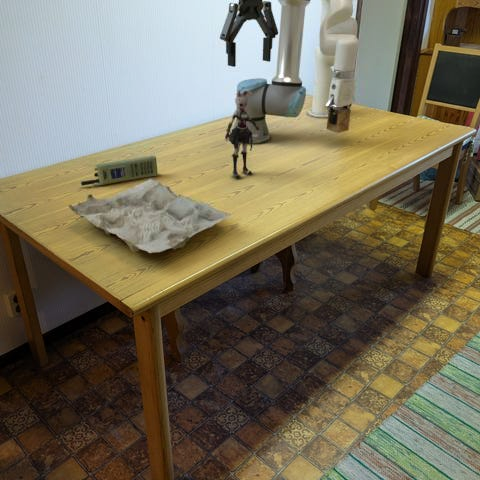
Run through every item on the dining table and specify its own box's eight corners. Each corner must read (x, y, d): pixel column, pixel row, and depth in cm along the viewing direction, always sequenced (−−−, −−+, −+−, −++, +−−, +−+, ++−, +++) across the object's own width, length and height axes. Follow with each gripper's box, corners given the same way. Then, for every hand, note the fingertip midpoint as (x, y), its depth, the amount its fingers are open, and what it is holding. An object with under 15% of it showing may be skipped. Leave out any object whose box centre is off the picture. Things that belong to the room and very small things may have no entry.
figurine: (229, 182, 166) (230, 89, 151) (218, 177, 170) (217, 86, 155) (261, 171, 175) (264, 82, 160) (249, 166, 178) (251, 79, 164)
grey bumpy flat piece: (148, 192, 160) (63, 221, 139) (147, 174, 157) (60, 201, 136) (236, 233, 139) (152, 274, 118) (238, 213, 136) (151, 251, 115)
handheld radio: (158, 176, 170) (83, 189, 160) (155, 173, 172) (80, 186, 162) (156, 157, 167) (79, 169, 157) (153, 154, 169) (77, 166, 159)
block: (338, 133, 194) (340, 112, 189) (326, 129, 198) (328, 108, 193) (348, 130, 197) (350, 109, 193) (336, 126, 201) (338, 105, 197)
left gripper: (223, -16, 130) (224, 70, 140) (292, -18, 144) (288, 60, 154) (206, -17, 135) (208, 66, 145) (274, -19, 149) (271, 57, 159)
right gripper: (335, 79, 179) (330, 128, 188) (366, 72, 189) (360, 120, 198) (320, 75, 184) (315, 123, 193) (350, 69, 194) (345, 115, 203)
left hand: (249, 63), depth 150 cm, fingers open, 13 cm apart
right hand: (338, 121), depth 196 cm, fingers closed on block, 6 cm apart
